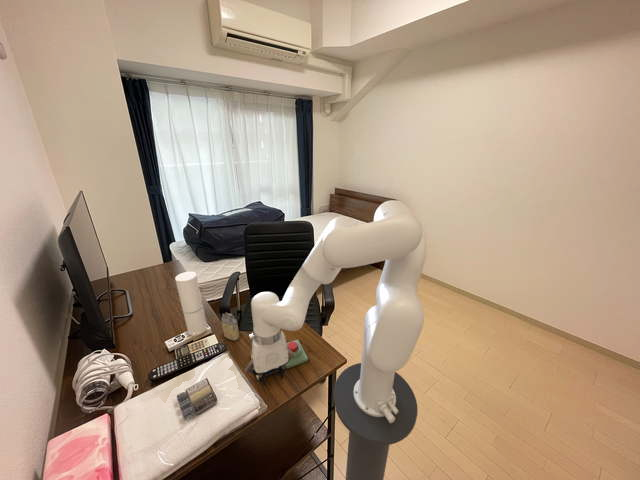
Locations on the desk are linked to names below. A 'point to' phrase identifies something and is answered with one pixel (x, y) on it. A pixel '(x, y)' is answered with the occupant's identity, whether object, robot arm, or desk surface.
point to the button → (292, 346)
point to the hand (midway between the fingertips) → (272, 378)
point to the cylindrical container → (191, 302)
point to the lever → (271, 372)
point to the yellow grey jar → (230, 327)
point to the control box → (297, 356)
